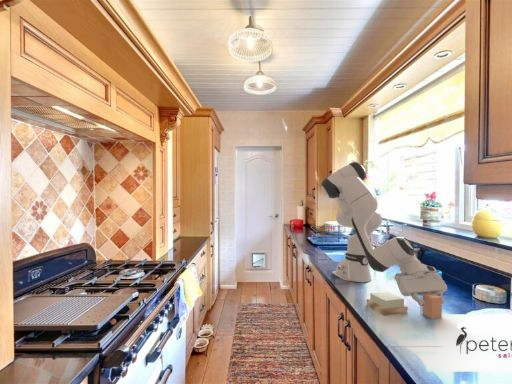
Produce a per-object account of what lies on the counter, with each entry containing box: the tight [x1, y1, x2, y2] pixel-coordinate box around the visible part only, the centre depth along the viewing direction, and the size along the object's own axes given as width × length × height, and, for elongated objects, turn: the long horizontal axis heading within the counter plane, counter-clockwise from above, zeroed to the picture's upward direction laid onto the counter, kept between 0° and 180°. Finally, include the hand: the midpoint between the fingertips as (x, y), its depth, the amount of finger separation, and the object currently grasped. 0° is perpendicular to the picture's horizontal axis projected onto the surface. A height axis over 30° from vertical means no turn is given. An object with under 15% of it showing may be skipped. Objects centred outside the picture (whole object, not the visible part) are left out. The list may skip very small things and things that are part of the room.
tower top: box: [369, 291, 405, 309], centre depth 122 cm, size 9×9×3 cm
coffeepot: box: [413, 247, 426, 263], centre depth 175 cm, size 15×9×18 cm, turn 90°
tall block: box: [422, 293, 443, 320], centre depth 116 cm, size 4×4×8 cm
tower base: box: [366, 298, 409, 316], centre depth 123 cm, size 11×11×3 cm
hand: (432, 304), depth 115 cm, fingers open, 8 cm apart
